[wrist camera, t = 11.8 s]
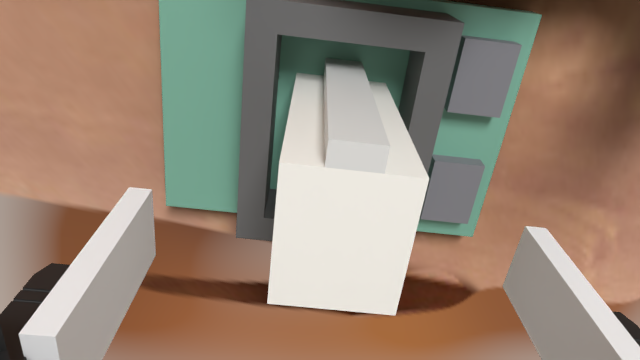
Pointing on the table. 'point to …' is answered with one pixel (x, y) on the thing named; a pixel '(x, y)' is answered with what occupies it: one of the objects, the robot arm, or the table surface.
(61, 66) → the table surface
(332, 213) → the plug
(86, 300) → the robot arm
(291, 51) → the board
